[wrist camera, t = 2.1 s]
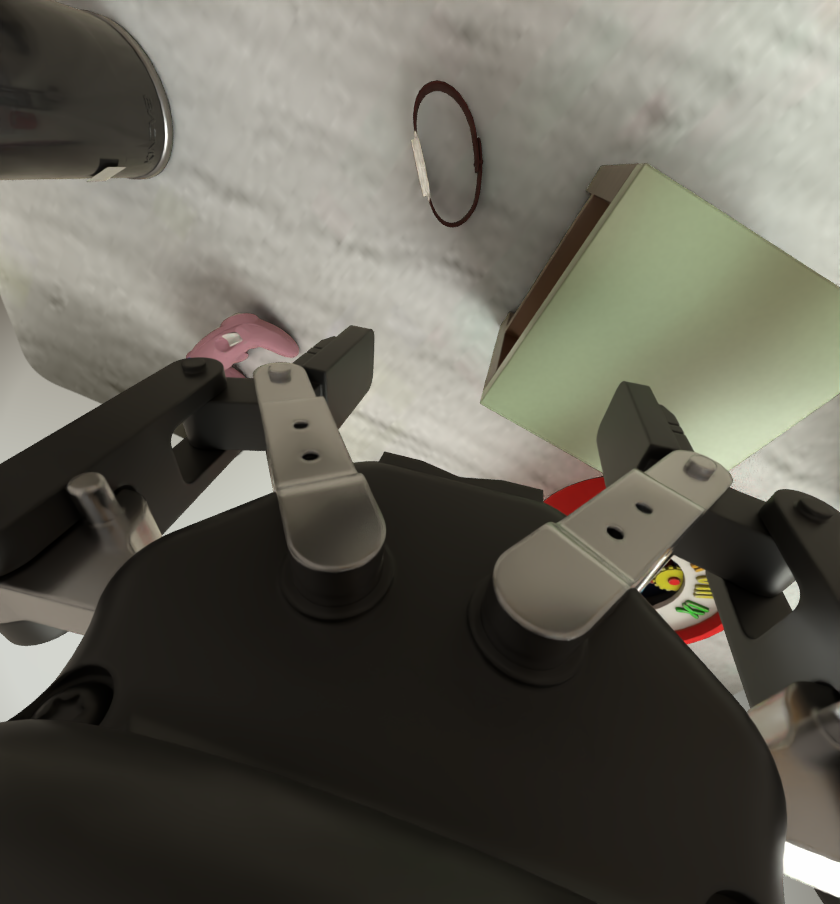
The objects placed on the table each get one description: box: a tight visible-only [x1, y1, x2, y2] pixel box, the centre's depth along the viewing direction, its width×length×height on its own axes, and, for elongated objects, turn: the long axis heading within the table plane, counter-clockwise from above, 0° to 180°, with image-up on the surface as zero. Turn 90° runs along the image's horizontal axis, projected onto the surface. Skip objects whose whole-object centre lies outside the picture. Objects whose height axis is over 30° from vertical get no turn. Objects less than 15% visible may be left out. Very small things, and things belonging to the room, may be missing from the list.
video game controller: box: [186, 313, 299, 378], centre depth 37 cm, size 10×5×7 cm, turn 125°
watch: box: [411, 80, 483, 227], centre depth 25 cm, size 8×5×4 cm, turn 15°
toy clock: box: [543, 477, 724, 644], centre depth 40 cm, size 20×6×20 cm
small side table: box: [480, 163, 840, 473], centre depth 24 cm, size 13×12×14 cm
